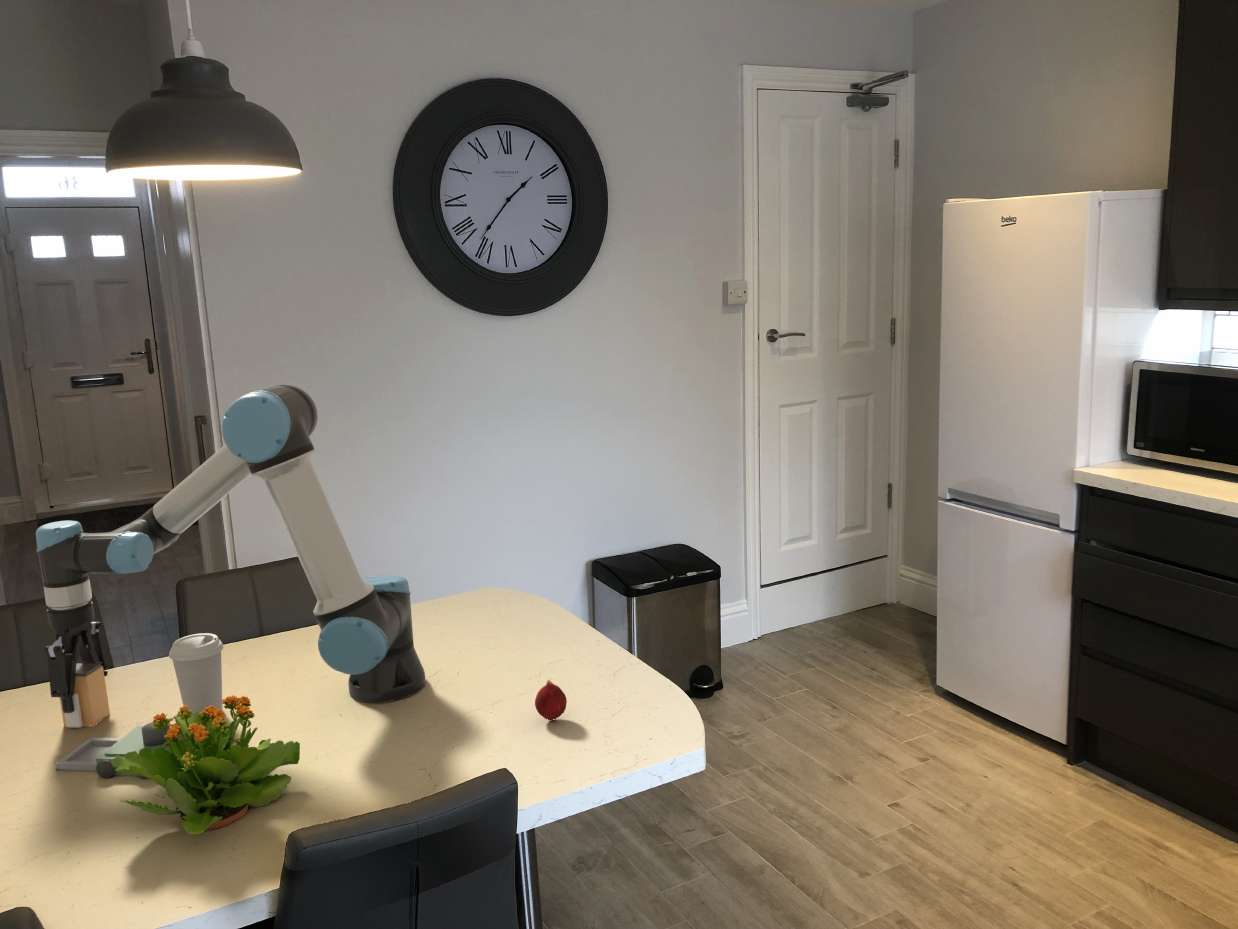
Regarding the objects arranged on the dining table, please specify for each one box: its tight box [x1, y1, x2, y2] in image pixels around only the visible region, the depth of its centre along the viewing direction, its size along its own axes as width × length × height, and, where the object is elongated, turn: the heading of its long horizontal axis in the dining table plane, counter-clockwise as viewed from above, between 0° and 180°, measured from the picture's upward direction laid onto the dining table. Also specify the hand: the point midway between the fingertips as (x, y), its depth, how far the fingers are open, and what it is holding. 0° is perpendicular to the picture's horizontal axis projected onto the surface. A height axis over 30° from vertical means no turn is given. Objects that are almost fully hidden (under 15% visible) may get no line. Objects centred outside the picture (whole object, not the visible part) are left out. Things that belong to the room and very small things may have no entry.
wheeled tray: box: [55, 721, 181, 780], centre depth 167 cm, size 20×14×6 cm
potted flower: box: [111, 695, 301, 835], centre depth 146 cm, size 25×24×18 cm
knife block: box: [59, 662, 111, 727], centre depth 182 cm, size 6×5×11 cm
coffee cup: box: [168, 632, 224, 714], centre depth 182 cm, size 10×10×15 cm
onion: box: [534, 679, 568, 721], centre depth 175 cm, size 6×6×8 cm
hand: (86, 717), depth 182 cm, fingers open, 6 cm apart
